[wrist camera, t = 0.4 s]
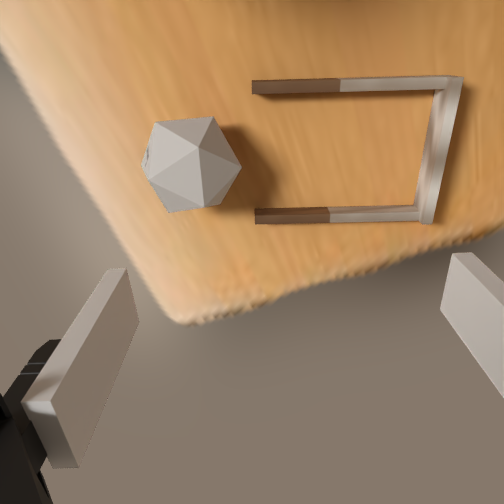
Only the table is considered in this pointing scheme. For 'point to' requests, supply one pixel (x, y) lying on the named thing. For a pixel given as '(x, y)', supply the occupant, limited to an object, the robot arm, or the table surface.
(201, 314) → the table surface
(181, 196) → the die
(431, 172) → the grey brown u-shaped frame
